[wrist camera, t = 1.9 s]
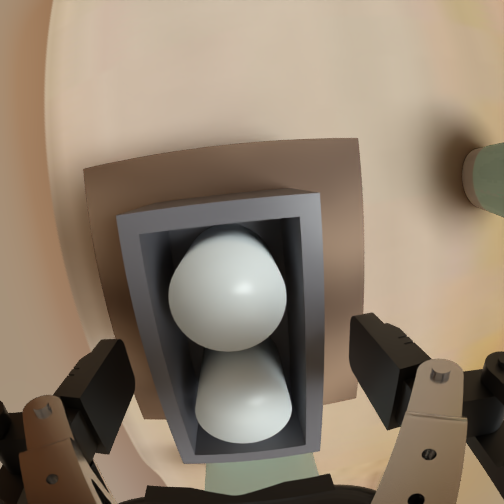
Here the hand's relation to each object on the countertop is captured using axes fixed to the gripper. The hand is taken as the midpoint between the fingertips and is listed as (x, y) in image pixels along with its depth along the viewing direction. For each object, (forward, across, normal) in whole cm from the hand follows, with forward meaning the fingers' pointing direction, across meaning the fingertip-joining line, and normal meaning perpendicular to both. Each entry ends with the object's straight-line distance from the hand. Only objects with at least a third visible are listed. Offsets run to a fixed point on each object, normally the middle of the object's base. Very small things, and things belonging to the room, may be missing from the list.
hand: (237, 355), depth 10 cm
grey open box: (+4, 0, 0) cm, 4 cm away
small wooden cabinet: (+14, 0, 0) cm, 14 cm away
